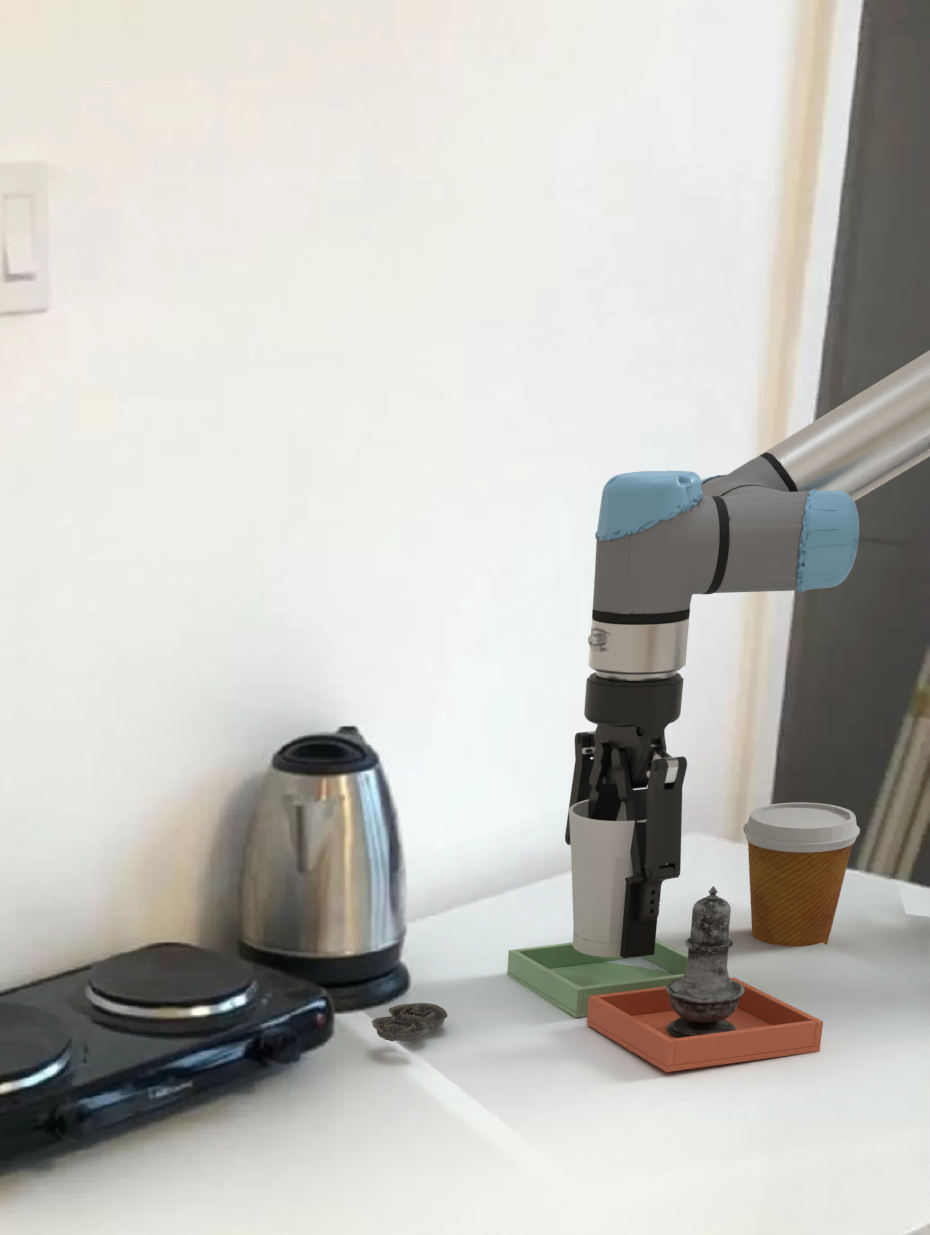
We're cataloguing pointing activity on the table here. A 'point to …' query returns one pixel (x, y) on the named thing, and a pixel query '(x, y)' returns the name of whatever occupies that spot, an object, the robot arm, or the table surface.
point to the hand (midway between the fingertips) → (613, 942)
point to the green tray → (588, 973)
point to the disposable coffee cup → (797, 869)
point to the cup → (599, 879)
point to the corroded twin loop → (409, 1021)
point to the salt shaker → (705, 974)
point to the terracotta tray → (758, 1036)
